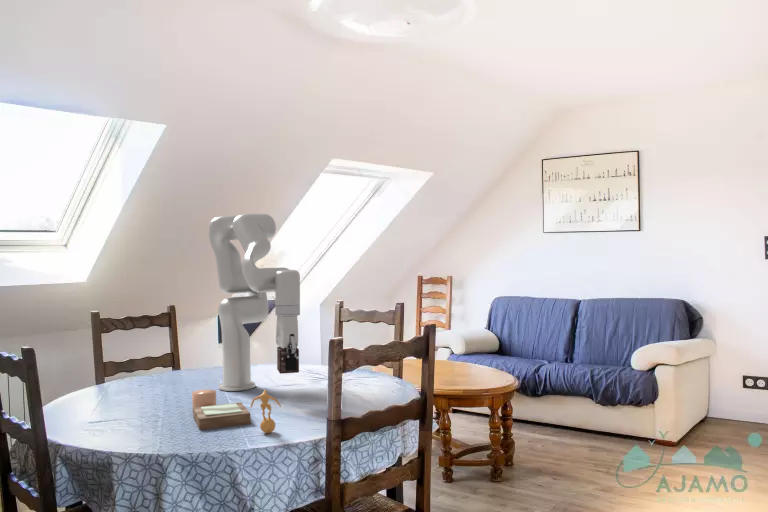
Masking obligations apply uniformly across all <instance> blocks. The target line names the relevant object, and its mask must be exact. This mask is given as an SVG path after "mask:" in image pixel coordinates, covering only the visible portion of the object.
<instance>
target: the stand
mask: <svg viewBox="0 0 768 512" xmlns="http://www.w3.org/2000/svg"><path fill="white" fill-rule="evenodd" d="M192 417H193V420H194V422H195V424H196V426H197V428H198V430H199V431H202V430H209V429H219V428H229V427H236V426H245V425H250V424H251V423H252V421H251V419H252V418H251V412H250V411H249V409H247V407H246V406H245V405H244V404H243V402H241V401H240V402H233V403H231V402H230V403H223V404H216V405H212V406H203V407H194V408H193V410H192Z"/></svg>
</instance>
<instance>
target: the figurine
mask: <svg viewBox="0 0 768 512" xmlns="http://www.w3.org/2000/svg"><path fill="white" fill-rule="evenodd" d="M256 400H260V401H261V403H260V408H261V411H262V412H261V413H262V418H263V420H261V422H260V426H259V427H260V430H261V432H262V433H264V434H270V433H273V432H274V431H275V428H276V422H275V420H274V419H273V418H271V413H272V412H271V411H272V407H271V406H272V405H271V403H269V400H272V401H274V402H276V404H277V405H279V408H282V405H281V403H280V402H279V401H278V400H277V398H275V397H273V396H271V395H269V394H268V391H267V390H266V389H264V390H263V392H262V393H261V394H260V395H258V396H256V397H254V398H253V399H252V400H251V404H250V409H252V408H253V406H254V402H255V401H256ZM266 409H267V410H269V411H268V413H267V415H268V416H267V417H266V416H265V415H266V412H265V411H266Z"/></svg>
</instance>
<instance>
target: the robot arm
mask: <svg viewBox="0 0 768 512" xmlns="http://www.w3.org/2000/svg"><path fill="white" fill-rule="evenodd" d="M276 231H277V226H276V221H275V220H274V218H273V217H272V216H271V215H270V214H267V213H243V214H240V215H220V216H217V217H214V218H213V219H211V221H210V222H209V224H208V240H209V243H210V245H211V248H212V252H213V253H214V256H215V263H216V271H217V277H218V284H219V288H220V291H222V293H224V294H228V295H229V294H230V295H231V294H233V295H235V294H247V293H248V296H243V295H241V296H232V297H231V296H230V297H227V298H224V299H223V300H221V302H219V305H218V309H217V311H218V318H219V323H220V329H221V344H222V345H221V347H222V348H221V353H222V354H221V357H222V382H221V383H220V384H218V389H219V390H221V391H225V392H241V391H247V390H251V389H254V388H256V382H255V381H253V380H252V375H251V374H252V373H251V339H250V334H249V332H248V331H247V329H246V328H245V326H244V325H246V324H253V323H261V322H264V321H266V319H267V318H268V315H269V301H268V294H267V293H273V292H274V294H275V296H274V300H275V301H274V303H275V304H274V305H275V306H274V307H275V310H274V311H275V314H274V315H275V316H276V324H275V325H276V326H275V327H276V329H275V344H276V345H277V347H281V348H282V349H284V348H285V347H286V356H287V357H286V358H285V359H286V371H292V370H296V347H297V348H298V346H299V324H298V323H299V322H298V321H299V320H298V317H299V316H300V315H301V274H300V272H299V270H296V269H289V268H287V267H263V268H262V267H261V268H259V267H258V266H257V265H256V262H258V261H260V260H261V259H263V258H265V257H266V256H267V255H268V254H269V252H270V251H271V248H272V245H271V242H270V240H269V239H270V238H272V237H274V235H275V234H276ZM231 241H239V243H240V245H241V247H242V249H243V250H244V252H245V253H244V255H243V257H241V253H240V251H239V250H238V249H237V247H236V245H234V244H233V243H232V242H231ZM241 258H242V260H241ZM288 346H291V347H288ZM289 350H290V351H289Z"/></svg>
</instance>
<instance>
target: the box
mask: <svg viewBox="0 0 768 512" xmlns="http://www.w3.org/2000/svg"><path fill="white" fill-rule="evenodd" d="M288 347H291V346H288ZM289 351H290V350H289ZM276 354H277V355H276V359H277V361H276V370H277V371H278V372H279V374H280V375H281V374H297V373H299V372H300V363H299V362H300V349H299V348H298V346H297V347H296V370H292V371H286V359H285V358H286V357H287V356H286V347H285V348H284V349H282V348H281V347H280V346H277V348H276Z"/></svg>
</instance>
